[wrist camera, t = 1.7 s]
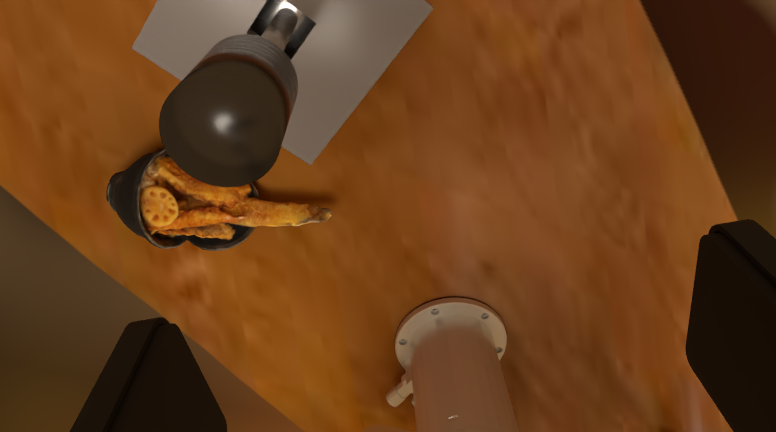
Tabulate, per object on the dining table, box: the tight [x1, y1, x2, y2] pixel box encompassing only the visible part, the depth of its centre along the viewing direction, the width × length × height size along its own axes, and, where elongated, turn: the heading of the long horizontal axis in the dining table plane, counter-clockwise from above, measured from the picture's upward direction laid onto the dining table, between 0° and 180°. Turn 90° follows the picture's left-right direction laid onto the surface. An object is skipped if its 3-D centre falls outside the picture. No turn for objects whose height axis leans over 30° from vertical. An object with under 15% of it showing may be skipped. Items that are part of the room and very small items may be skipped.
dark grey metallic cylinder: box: [159, 0, 315, 187], centre depth 24 cm, size 8×8×17 cm
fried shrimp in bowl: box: [107, 148, 332, 251], centre depth 48 cm, size 9×11×18 cm
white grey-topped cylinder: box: [132, 0, 433, 165], centre depth 37 cm, size 14×11×17 cm
